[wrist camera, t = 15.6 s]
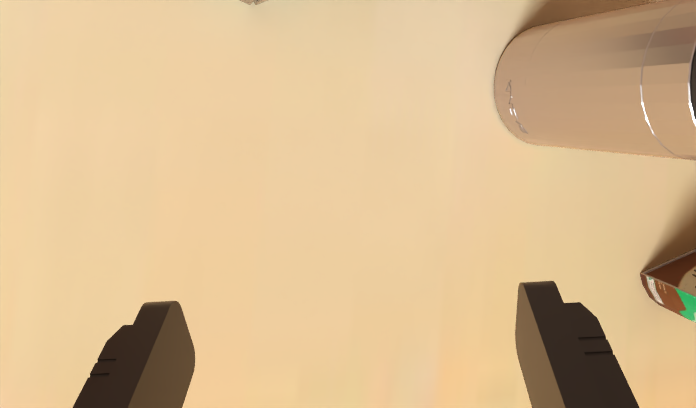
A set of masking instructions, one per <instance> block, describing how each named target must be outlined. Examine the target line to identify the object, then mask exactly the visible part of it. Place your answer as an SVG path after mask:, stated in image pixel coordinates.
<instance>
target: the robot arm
mask: <svg viewBox="0 0 696 408" xmlns="http://www.w3.org/2000/svg"><path fill="white" fill-rule="evenodd" d="M494 94H495V101H496V106H497V110H498V112H499V115H500V117H501V119H502V121H503V123H504V124H505V125H506V127H507V128H508V130H509V131H510V132H511V133H513V134H514V135H515V136H516V137H517V138H519V139H521V140H523V141H525V142H527V143H530V144H535V145H541V146H552V147H562V148H570V149H581V150H592V151H602V152H613V153H624V154H635V155H645V156H656V157H667V158H677V159H688V160H696V0H663V1H658V2H653V3H648V4H643V5H638V6H633V7H628V8H623V9H619V10H614V11H609V12H604V13H599V14H594V15H589V16H584V17H579V18H573V19H568V20H563V21H559V22H554V23H549V24H544V25H540V26H535V27H532V28H530V29H528V30H525V31H523V32H522V33H521V34H519V35H518V36H517V37H515V38H514V39H513V40H512V42H511V43H510V44H509V45H508V46H507V48H506V49H505V51H504V53H503V55H502V56H501V58H500V61H499V64H498V67H497V70H496V75H495V82H494ZM515 338H516V349H517V355H518V359H519V363H520V366H521V370H522V373H523V377H524V380H525V384H526V387H527V391H528V394H529V398H530V401H531V405H532V408H639V406H638V404H637V402H636V399H635V397H634V395H633V393H632V391H631V389H630V387H629V385H628V383H627V380H626V378H625V376H624V374H623V372H622V370H621V368H620V366H619V363H618V361H617V359H616V357H615V355H613V351H612V349H611V346H610V344H609V342H608V340H606V336H605V334H604V332H603V330H602V327H601V325H600V323H599V321H598V319H597V317H595V316H594V315H593V314H592V313H591V312H590V311H589V310H588V309H587V308H586V307H584V306H583V305H582V304H581V303H580V302H578V303H563V300H562V298H561V296H560V293H559V291H558V288H557V286H556V284H555V282H554V281H544V282H526V283H520V284H519V288H518V301H517V315H516V330H515ZM194 366H195V351H194V346H193V343H192V340H191V336H190V333H189V330H188V327H187V324H186V321H185V318H184V315H183V312H182V308H181V306H180V304H179V303H178V302H177V301H165V302H147V303H144V304H143V306H142V307H141V309H140V311H139V313H138V315H137V317H136V319H135V322H134V324H133V325H123V326H122V327H121V328H120V329H119V330H118V331H117V332H116V333H115V334H114V335H113V336H112V337H111V338H110V339H109V340H108V341H107V342H106V344H105V346H104V348H103V350H102V352H101V354H100V356H99V358H98V363H95V365H94V367H93V369H92V371H91V373H90V378H88V379H87V381H86V383H85V385H84V387H83V389H82V391H81V393H80V394H79V396H78V398H77V400H76V402H75V404H74V406H73V408H182V406H183V403H184V400H185V397H186V394H187V391H188V388H189V385H190V382H191V379H192V375H193V372H194Z"/></svg>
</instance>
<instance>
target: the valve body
mask: <svg viewBox="0 0 696 408" xmlns="http://www.w3.org/2000/svg"><path fill="white" fill-rule="evenodd" d="M240 1H242V2H245V3H247V4H249V5H250V4H251V3H252V2H253V1H254V3H255V5H257V4H259V3H262V2H264V1H267V0H240Z"/></svg>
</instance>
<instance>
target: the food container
mask: <svg viewBox="0 0 696 408" xmlns="http://www.w3.org/2000/svg"><path fill="white" fill-rule="evenodd" d="M640 276H641V280H642V284H643V286H644V288H645V290H646V292H647V293H648V295H649V297H650V298H651V299H653V300H654V301H655V302H656V303H658V304H659V305H660V306H662V307H665V308H667V309H669V310H671V311H673V312H675V313H677V314H679V315H681V316H683V317H685V318H687V319H689V320H691V321H693V322H695V323H696V249H694V250H691V251H689V252H687V253H685V254H682V255H680V256H678V257H676V258H673V259H671V260H669V261H667V262H664V263H662V264H660V265H658V266H655V267H653V268H651V269H649V270H646V271H644V272H642V273H640Z"/></svg>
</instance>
